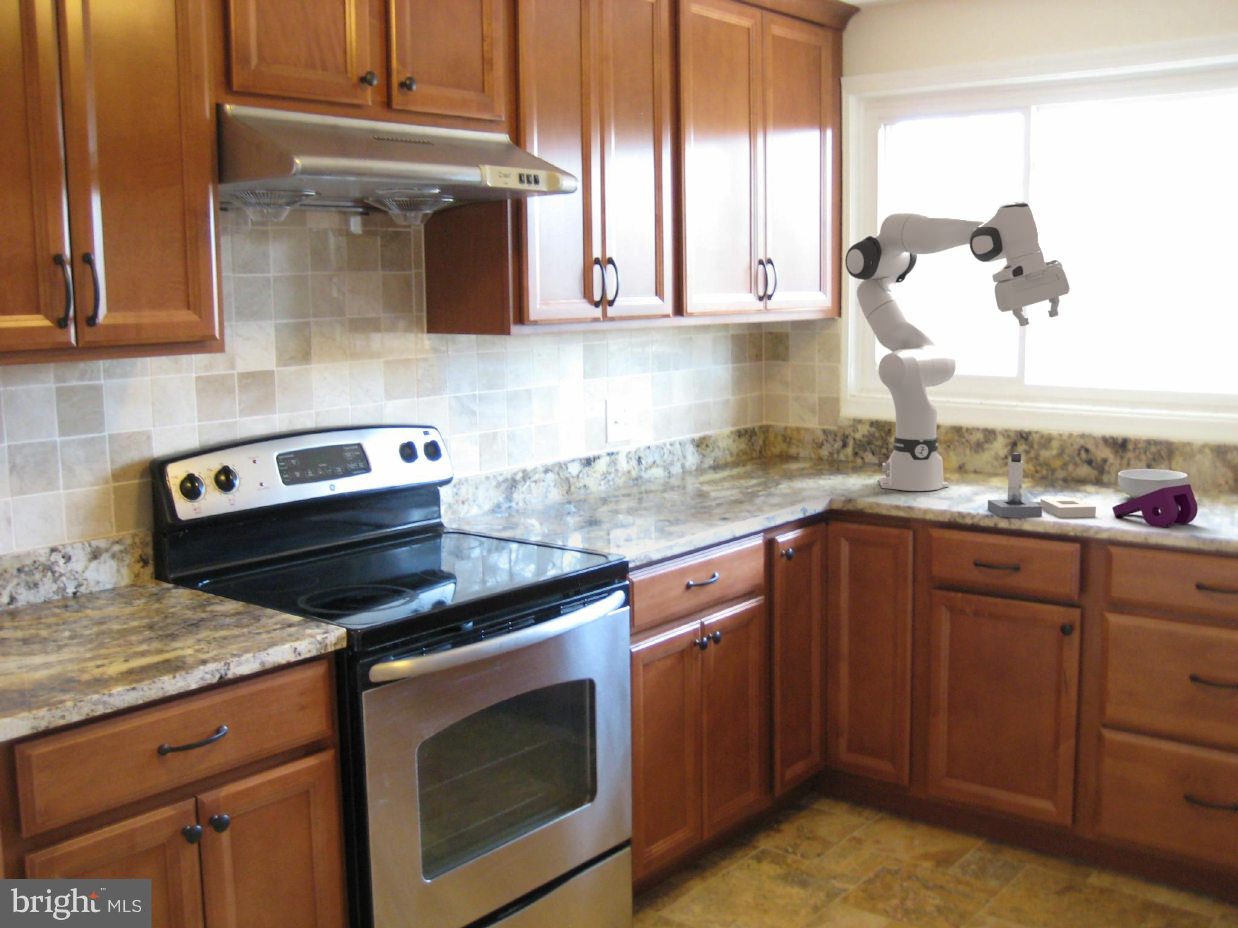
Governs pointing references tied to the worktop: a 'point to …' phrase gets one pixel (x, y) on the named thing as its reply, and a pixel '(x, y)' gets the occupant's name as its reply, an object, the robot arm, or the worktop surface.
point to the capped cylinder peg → (1015, 480)
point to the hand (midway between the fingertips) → (1039, 321)
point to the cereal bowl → (1149, 480)
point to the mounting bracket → (1162, 506)
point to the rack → (1068, 507)
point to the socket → (1015, 508)
